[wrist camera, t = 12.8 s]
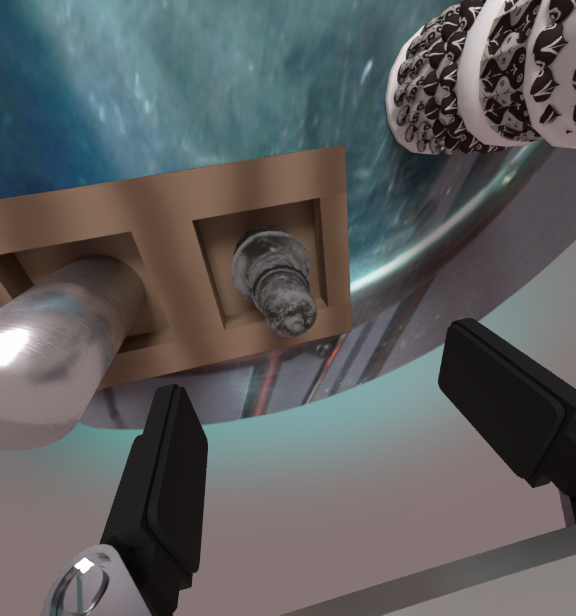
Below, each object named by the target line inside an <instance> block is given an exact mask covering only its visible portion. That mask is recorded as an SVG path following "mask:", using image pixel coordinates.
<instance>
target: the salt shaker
mask: <svg viewBox="0 0 576 616" xmlns="http://www.w3.org/2000/svg"><path fill="white" fill-rule="evenodd" d="M310 270H311V264H310V258H309V255H308V253H307V251H306V249H305V247H304V246H303V245H302V244H301V243H300V241H299V240H297V239H296V238H294V237H293V236H291V235H290V234H287V233H286V232H284V231H283V230H281V229H280V228H277V227H274V226H264V225H263V226H258V227H254V228H252V229H251V230H249V231H247V232H246V233H245V234H244V235H243V236H242V237H241V238H240V239H239V241H238V243H237V244H236V248H235V251H234V258H233V262H232V279H233V283H234V286H235V287H236V289H237V291H238V292H239V294H240V295H241V296H242V297H243V298H245V299H246V300H247V301H249V302H251V303H252V304H254V305H256V307H257V308H258V309H259V310H260V311H261V312H262V313H263V314H264V318H265V322H266V324H267V325H268V327H269V328H270V329H271V330H272V331H273V332H274V333H275V334H277V335H279V336H282V337H287V338H288V337H297V336H300V335H302V334H304V333H306V332H307V331H308V330H309V329H311V327H312V326H313V325H314V323H315V320H316V318H317V309H316V303H315V301H314V300H313V298H312V296H311V295H310V286H309V282H308V280H309V277H310Z"/></svg>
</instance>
